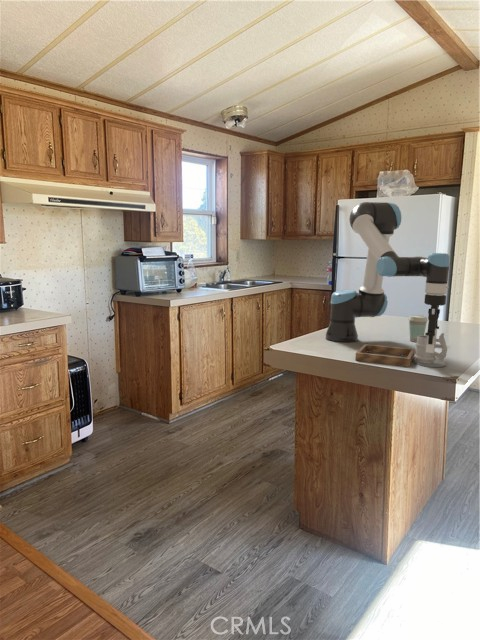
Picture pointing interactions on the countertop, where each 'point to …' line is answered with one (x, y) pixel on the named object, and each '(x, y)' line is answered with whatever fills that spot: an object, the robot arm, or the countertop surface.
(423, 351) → the mug
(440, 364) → the grey flat disc
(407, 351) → the walnut tray
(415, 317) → the coffee cup
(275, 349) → the countertop surface
